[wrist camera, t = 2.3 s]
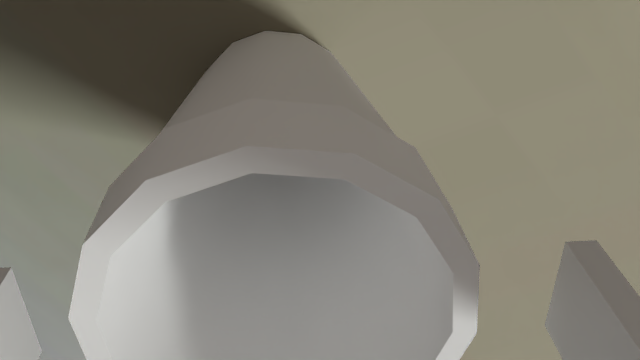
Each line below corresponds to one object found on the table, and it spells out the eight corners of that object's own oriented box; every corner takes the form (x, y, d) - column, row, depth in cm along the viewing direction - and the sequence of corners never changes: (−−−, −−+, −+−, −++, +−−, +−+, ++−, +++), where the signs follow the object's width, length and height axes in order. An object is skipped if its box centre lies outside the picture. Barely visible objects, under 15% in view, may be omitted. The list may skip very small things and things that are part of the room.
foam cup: (218, 222, 28) (181, 486, 16) (121, 41, 23) (-22, 237, 12) (411, 158, 27) (512, 393, 15) (351, -45, 22) (432, 82, 11)
